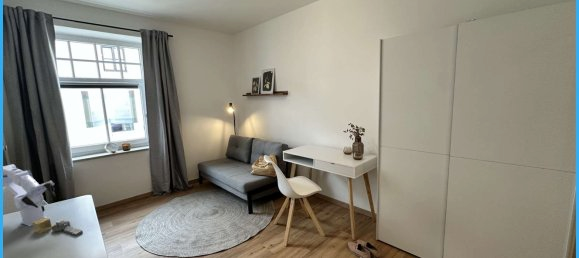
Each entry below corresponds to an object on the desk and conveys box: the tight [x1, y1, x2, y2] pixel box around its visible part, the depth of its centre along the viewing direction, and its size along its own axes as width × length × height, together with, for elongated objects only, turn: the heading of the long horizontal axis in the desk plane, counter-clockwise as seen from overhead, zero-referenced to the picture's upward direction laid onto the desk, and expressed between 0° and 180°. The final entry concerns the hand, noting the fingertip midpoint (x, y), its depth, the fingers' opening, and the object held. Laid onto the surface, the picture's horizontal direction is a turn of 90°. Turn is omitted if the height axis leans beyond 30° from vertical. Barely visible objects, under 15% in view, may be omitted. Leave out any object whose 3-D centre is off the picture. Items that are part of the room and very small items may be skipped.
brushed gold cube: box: [32, 216, 53, 234], centre depth 131 cm, size 5×5×5 cm
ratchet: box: [51, 218, 84, 237], centre depth 130 cm, size 19×7×4 cm, turn 67°
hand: (45, 200), depth 128 cm, fingers open, 7 cm apart
